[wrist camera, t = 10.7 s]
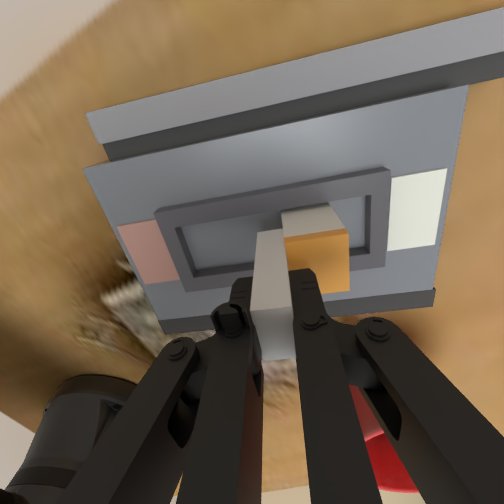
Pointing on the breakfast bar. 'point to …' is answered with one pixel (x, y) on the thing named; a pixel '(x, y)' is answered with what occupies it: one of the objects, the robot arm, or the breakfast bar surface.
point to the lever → (318, 245)
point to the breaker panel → (289, 199)
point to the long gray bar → (332, 308)
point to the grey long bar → (308, 86)
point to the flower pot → (381, 450)
